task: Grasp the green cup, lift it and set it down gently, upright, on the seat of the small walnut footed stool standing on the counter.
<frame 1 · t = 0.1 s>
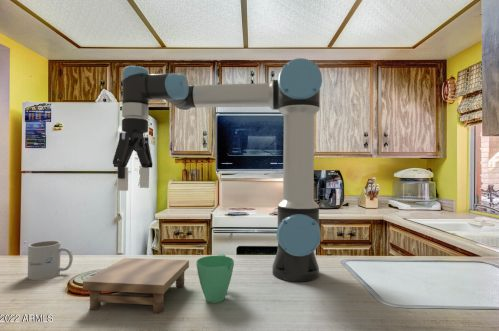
hand: (134, 189, 94), 28 cm above the countertop, fingers open, 13 cm apart
mug 2: (50, 275, 98), on the countertop
green cup: (216, 295, 84), on the countertop
stool: (141, 295, 83), on the countertop
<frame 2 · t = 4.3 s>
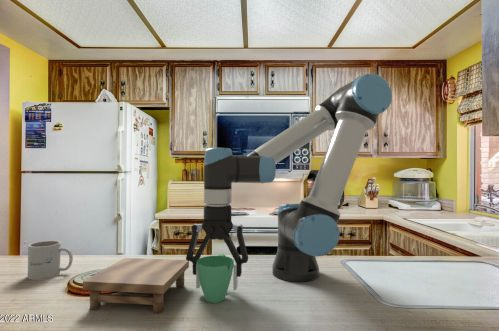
hand: (217, 287, 84), 2 cm above the countertop, fingers closed on green cup, 9 cm apart
green cup: (216, 295, 84), on the countertop, touching gripper
everything else where it was.
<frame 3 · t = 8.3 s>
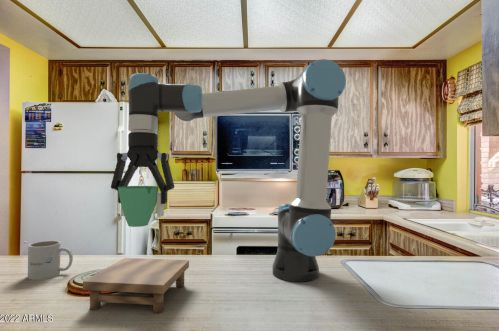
hand: (142, 215, 83), 21 cm above the countertop, fingers closed on green cup, 9 cm apart
green cup: (142, 224, 83), point 19 cm above the countertop, touching gripper
everything else where it was.
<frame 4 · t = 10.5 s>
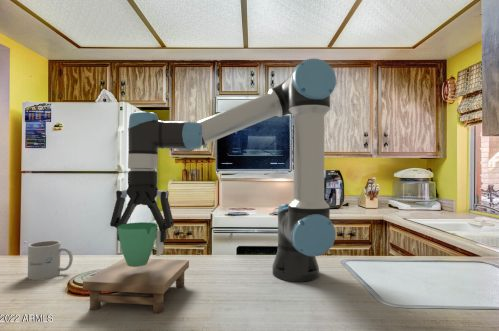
hand: (141, 253, 83), 11 cm above the countertop, fingers closed on green cup, 9 cm apart
green cup: (141, 262, 83), point 9 cm above the countertop, touching gripper
everything else where it was.
when the fingers open (10 cm above the countertop, at t = 12.5 s): green cup stays where it is, resting on stool.
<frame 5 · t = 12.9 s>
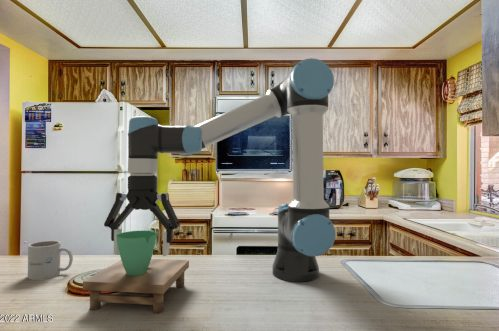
hand: (141, 254, 83), 11 cm above the countertop, fingers open, 13 cm apart
green cup: (140, 270, 83), point 7 cm above the countertop, touching stool
everything else where it was.
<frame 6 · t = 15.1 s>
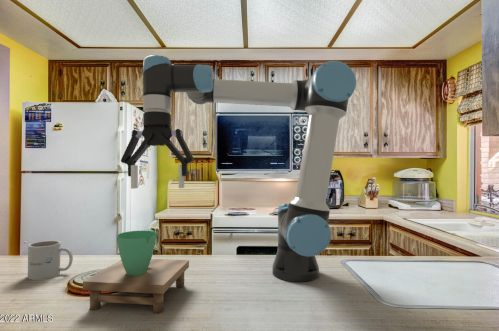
hand: (157, 188, 87), 29 cm above the countertop, fingers open, 13 cm apart
nothing on the countertop moved.
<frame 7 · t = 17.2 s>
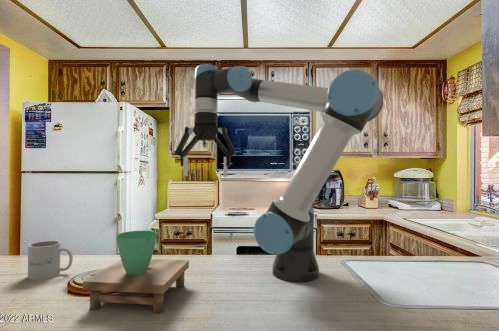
hand: (205, 176, 103), 32 cm above the countertop, fingers open, 13 cm apart
nothing on the countertop moved.
at the end: green cup inside the target area on the stool (0.2 cm from its centre), point 6.8 cm above the stool's base; green cup tilted 0°; the gripper is holding nothing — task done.
